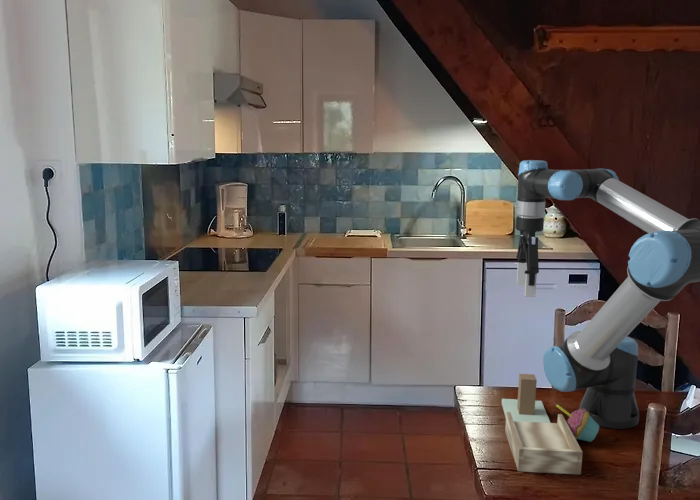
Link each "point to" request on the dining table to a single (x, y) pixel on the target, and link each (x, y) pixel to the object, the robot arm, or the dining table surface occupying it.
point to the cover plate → (525, 418)
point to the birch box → (543, 446)
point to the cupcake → (581, 424)
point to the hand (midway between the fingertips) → (525, 290)
